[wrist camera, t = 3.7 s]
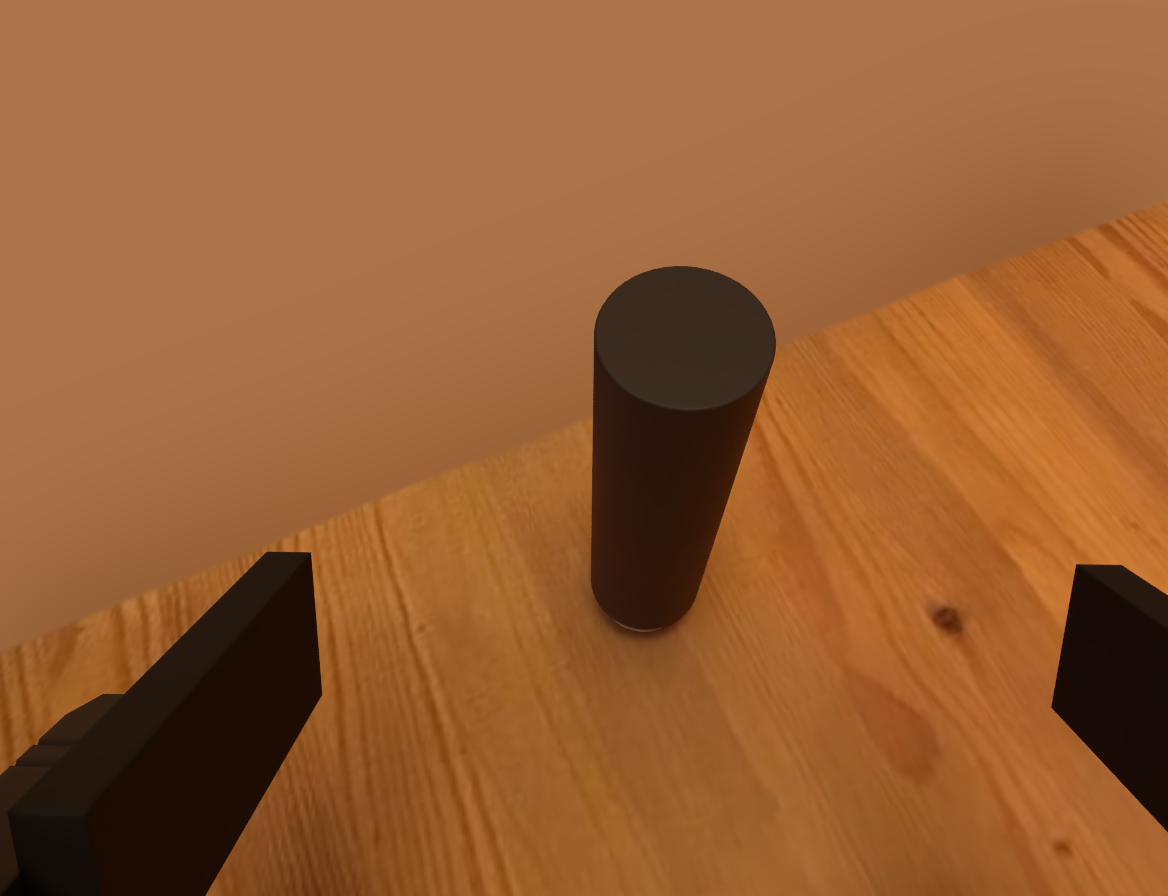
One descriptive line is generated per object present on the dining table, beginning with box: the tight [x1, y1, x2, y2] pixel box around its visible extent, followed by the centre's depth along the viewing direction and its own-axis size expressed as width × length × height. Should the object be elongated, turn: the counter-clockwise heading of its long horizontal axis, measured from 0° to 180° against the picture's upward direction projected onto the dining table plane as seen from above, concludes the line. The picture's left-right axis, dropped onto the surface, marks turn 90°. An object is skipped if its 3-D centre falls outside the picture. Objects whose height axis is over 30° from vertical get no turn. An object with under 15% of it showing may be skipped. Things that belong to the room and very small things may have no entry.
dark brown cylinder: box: [591, 266, 776, 632], centre depth 20 cm, size 3×3×13 cm
